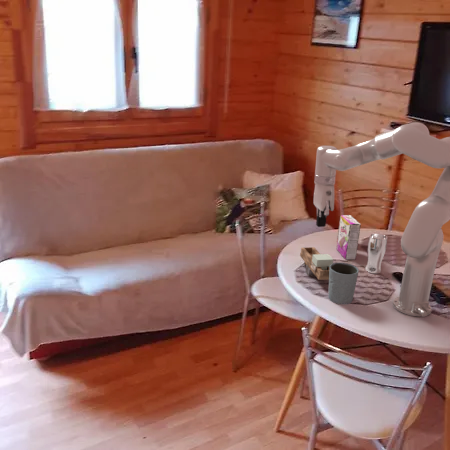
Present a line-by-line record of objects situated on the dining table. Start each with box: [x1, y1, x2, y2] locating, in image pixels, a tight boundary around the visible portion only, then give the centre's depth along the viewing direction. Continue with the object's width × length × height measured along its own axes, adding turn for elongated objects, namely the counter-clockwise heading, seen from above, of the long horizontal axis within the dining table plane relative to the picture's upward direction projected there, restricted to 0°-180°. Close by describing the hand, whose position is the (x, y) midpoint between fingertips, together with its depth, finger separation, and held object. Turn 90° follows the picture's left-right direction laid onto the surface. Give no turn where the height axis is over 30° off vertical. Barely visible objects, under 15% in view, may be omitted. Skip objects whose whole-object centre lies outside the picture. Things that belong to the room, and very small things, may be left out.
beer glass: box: [364, 232, 388, 274], centre depth 199 cm, size 7×7×15 cm
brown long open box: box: [299, 246, 330, 281], centre depth 195 cm, size 22×7×7 cm, turn 10°
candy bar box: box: [336, 214, 362, 261], centre depth 212 cm, size 11×5×16 cm, turn 9°
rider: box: [312, 253, 335, 270], centre depth 188 cm, size 5×6×5 cm
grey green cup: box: [327, 262, 360, 305], centre depth 176 cm, size 10×10×12 cm
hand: (320, 226), depth 190 cm, fingers closed
